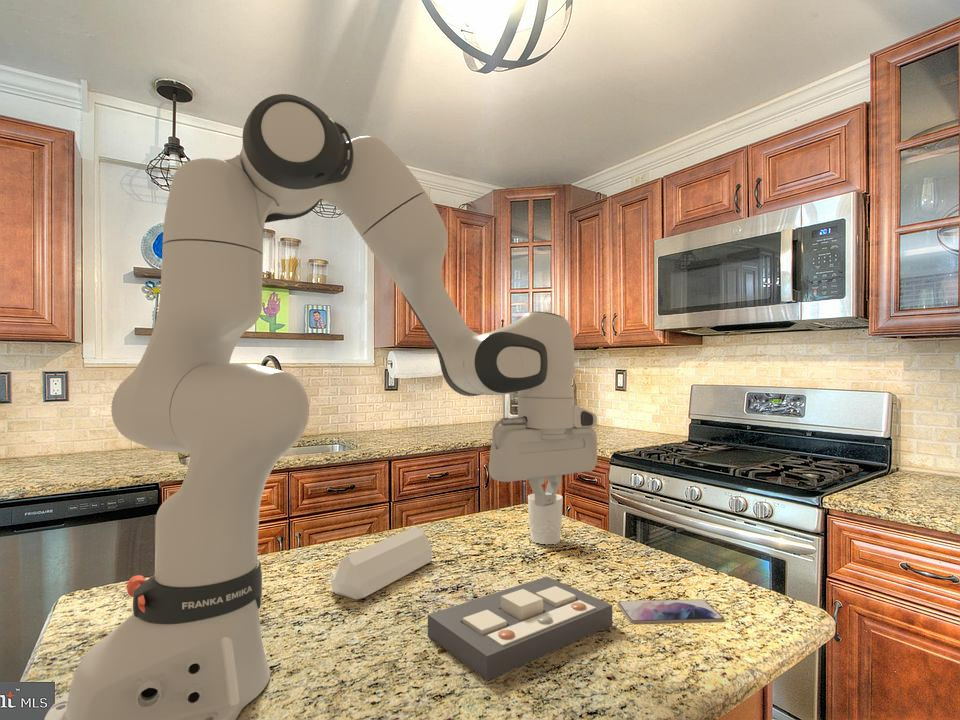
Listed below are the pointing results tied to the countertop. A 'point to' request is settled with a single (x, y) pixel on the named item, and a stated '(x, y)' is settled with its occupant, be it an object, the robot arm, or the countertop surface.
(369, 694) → the countertop surface
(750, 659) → the countertop surface
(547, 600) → the button right
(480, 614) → the button left
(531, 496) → the white cup
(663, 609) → the smartphone
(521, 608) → the button middle
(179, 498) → the robot arm
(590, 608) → the button board
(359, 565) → the beige chamfered bar
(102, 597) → the countertop surface
